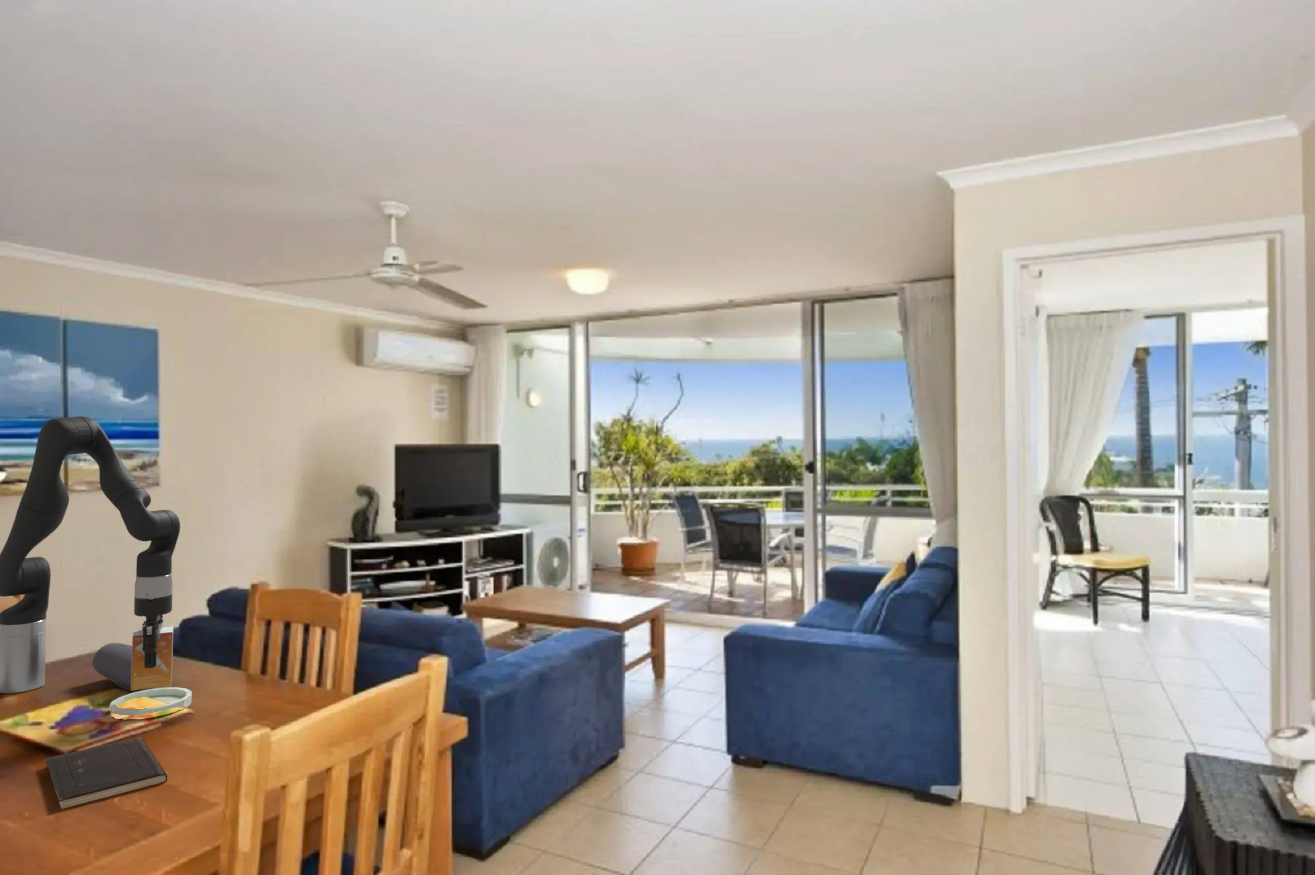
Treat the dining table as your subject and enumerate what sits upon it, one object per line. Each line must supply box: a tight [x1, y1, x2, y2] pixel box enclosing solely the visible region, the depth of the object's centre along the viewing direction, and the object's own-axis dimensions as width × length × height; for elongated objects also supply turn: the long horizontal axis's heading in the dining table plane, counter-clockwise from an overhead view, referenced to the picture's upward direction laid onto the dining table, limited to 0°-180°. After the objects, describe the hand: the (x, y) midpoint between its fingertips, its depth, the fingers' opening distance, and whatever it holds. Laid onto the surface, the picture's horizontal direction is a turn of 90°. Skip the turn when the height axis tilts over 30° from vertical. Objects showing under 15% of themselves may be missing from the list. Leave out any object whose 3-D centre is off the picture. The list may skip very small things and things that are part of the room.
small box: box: [130, 626, 174, 692], centre depth 176 cm, size 8×6×13 cm
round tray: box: [109, 686, 193, 715], centre depth 176 cm, size 16×16×2 cm
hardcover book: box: [44, 737, 168, 810], centre depth 141 cm, size 16×23×2 cm
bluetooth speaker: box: [92, 642, 157, 692], centre depth 191 cm, size 23×9×10 cm, turn 58°
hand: (152, 663), depth 176 cm, fingers closed on small box, 6 cm apart
